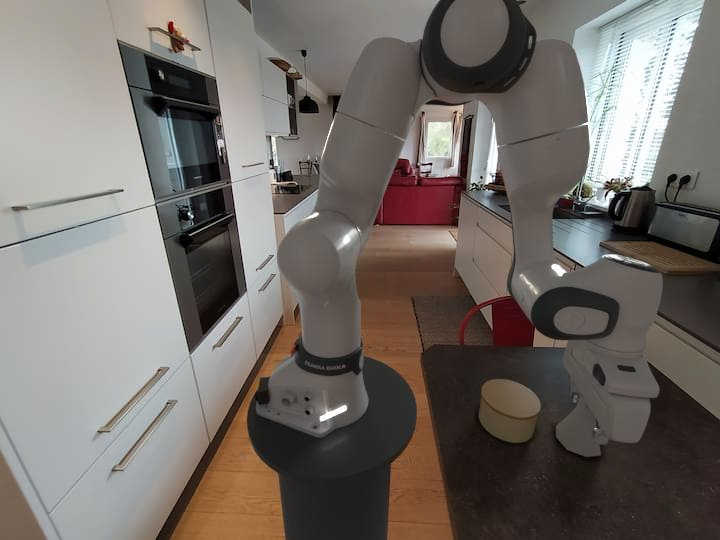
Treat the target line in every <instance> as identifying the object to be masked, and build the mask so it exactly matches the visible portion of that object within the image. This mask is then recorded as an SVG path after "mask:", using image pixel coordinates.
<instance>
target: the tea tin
mask: <svg viewBox="0 0 720 540" xmlns="http://www.w3.org/2000/svg"><path fill="white" fill-rule="evenodd" d="M480 396H481V397H480V403H479V408H478V420H479V422H480V424H481V426H482V427H483V429H485V430H486V431H487V432H488V433H489V434H490V435H492V436H493V437H495V438H496V439H499V440H501V441H504V442H506V443H507V442H508V443H514V444H519V443H525V442H528V441H530V439H532V437H533V436H534V433H535V430H536V426H537V425H536V424H537V420H538V416H539V414H540V413H541V409H542V404H541V401H540V399H539V397H538V396H537V395H536V393H535V392H533V390H531V389H530V388H529V387H527V386H525V385H523V384H521V383H519V382H516V381H514V380H510V379H505V378H495V379H494V378H493V379H490V380H487V381H486V382H484V383H483V384H482V386H481V389H480Z"/></svg>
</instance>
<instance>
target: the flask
mask: <svg viewBox="0 0 720 540" xmlns="http://www.w3.org/2000/svg"><path fill="white" fill-rule="evenodd" d="M579 395H580V400H579V402H578V403H576V406H575V407H574V409H573V410H571V411H570V412H569V414H568V415H567V416H565V417H564V418H563V419H562V420H561V421H560V422H558V423H557V424H556V425H555V437H556V439H557V440H558V441H559V443H560V444H561V445H562V446H563V447H564V448H565V449H566V450H567V451H568V452H572V453H575V454H577V455H580V456H582V457H586V458H590V457H599V456H602V452H601V444H597V443H596V442H595V441H594V439H593V437H592V433H593V432H592V431H593V428H596V429H598V427H597V426H598V424H597V420H596V418H595V416H594V415H593V413H592V411H591V410H590V408H589V407H588V405H587V403H586V402H585V400H584V398H583V397H582V395H581V393H580V392H579Z"/></svg>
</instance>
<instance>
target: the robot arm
mask: <svg viewBox="0 0 720 540" xmlns="http://www.w3.org/2000/svg"><path fill="white" fill-rule="evenodd" d="M537 33H538V32H537V30H536V28H535V27H534V25H533V24H532V22H531V21H530V20H529V19H528V18H527V17H526V15H525V14H524V13H523V10H522V8H521V6H520V4H519V2H518V0H438V2H437V3H436V5H435V6H434V7H433V9H432V10H431V13H430V15H429V16H428V18H427V21H426V23H425V26H424V30H423V34H422V38H419V39H417V40H415V41H405V40H402V39H399V38H396V37H390V36H388V37H387V36H384V37H378V38H375V39H373V40H371V41H370V42H368V43H367V44H366V45H365V46H364V48H363V49H362V51H361V53H360V54H359V57H358V58H357V61H356V62H355V64H354V67H353V68H352V71H351V72H350V75H349V77H348V79H347V81H346V84H345V86H344V89H343V90H342V91H343V92H342V94H341V96H340V99H339V102H338V104H337V108H336V112H335V114H334V117H333V120H332V123H331V126H330V130H329V132H328V136H327V139H326V142H325V145H324V148H323V151H322V153H321V158H320V161H319V168H318V169H319V182H318V189H317V194H316V195H317V196H316V200H315V205H314V207H313V209H312V211H311V213H310V214H309V215H308V216H307V217H305V218H303V219H301V220H299V221H297V222H295V224H293V225H292V226H291V227H290V229H289V230H288V231H287V233H286V234H285V235H284V237H283V238H282V240H281V242H280V243H279V245H278V248H277V252H276V264H277V268H278V271H279V273H280V275H281V276H282V278H283V279H284V280H285V282H287V284H288V285H289V286H290V287H292V288H293V290H294V294H295V296H296V300H297V302H298V308H299V314H300V327H301V331H300V332H299V333H298V338H297V339H296V340H295V341H294V342H293V346H292V348H291V349H290V351H289V354H288V355H287V356H285V357H284V358H283V359H282V360H280V362H278V364H277V365H276V366H275V367H274V369H273V371H272V372H271V374H270V375H269V376H264V377H263V376H262V377H260V378H259V382H258V388H257V389H258V390H257V389H256V390H255V392H254V394H253V396H254V398H255V400H256V401H257V402H256V413H257V414H258V415H260V416H262V417H265V418H268V419H270V420H273V421H275V422H278V423H281V424H283V425H286V426H288V427H291V428H294V429H296V430H299V431H301V432H304V433H307V434H309V435H312V436H314V437H317V438H322V437H325V436H326V435H328V434H329V433H331V432H332V431H333V430H335V429H337V428H340V427H344V426H347V425H349V424H351V423H353V422H355V421H356V420H358V419H359V418H360V417H361V416H362V415H363V414H364V413H365V411H366V409H367V407H368V401H369V400H368V395H367V392H366V389H365V385H364V381H363V374H362V368H363V361H364V356H365V354H364V353H365V349H364V340H363V338H362V302H361V300H360V298H359V293H358V289H357V280H356V268H357V267H356V266H357V263H358V258H359V257H360V255H361V254H362V253H363V251H364V249H365V247H366V245H367V242H368V239H369V237H370V234H371V231H372V229H373V226H374V224H375V221H376V218H377V215H378V213H379V210H380V207H381V205H382V202H383V199H384V196H385V193H386V191H387V187H388V185H389V183H390V181H391V178H392V176H393V173H394V170H395V168H396V166H397V163H398V161H399V159H400V156H401V153H402V151H403V148H404V146H405V144H406V141H407V139H408V136H409V134H410V131H411V129H412V126H413V125H414V122H415V119H416V118H417V116H418V114H419V112H420V110H421V109H422V108H423V106H442V107H459V106H463V105H467V104H469V103H471V102H473V101H476V100H477V101H479V102H480V103H482V104H483V105H484V106H485V107H486V108H487V110H488V112H489V114H490V115H491V119H492V122H493V123H494V129H495V130H494V131H495V141H496V146H497V147H496V150H497V156H498V162H499V168H500V171H501V177H502V180H503V184H504V187H505V192H506V195H507V199H508V204H509V208H510V210H509V211H510V221H511V233H512V246H513V257H512V262H511V266H510V267H509V268H510V269H509V271H508V273H507V274H508V275H507V279H506V288H507V292H508V294H509V295H510V297H511V298H512V300H513V301H514V302H515V303H516V304H517V305H518V306H519V307H520V309H521V310H522V312H523V313H524V315H525V316H526V318H527V319H528V320H529V322H530V323H531V325H532V326H533V327H534V328H535V330H536V331H537V332H539V334H541V335H542V336H544V337H546V338H548V339H551V340H556V341H567V343H566V345H565V349H564V352H563V355H562V365H563V367H564V368H565V370H566V372H567V373H568V375H569V377H570V378H569V380H570V381H569V382H570V395H569V397H570V399H571V401H572V403H573V404H578V402H579V400H580V395H579V392H580V393H581V395H582V397H583V398H584V400H585V402H586V403H587V405H588V407H589V408H590V410H591V411H592V413H593V415H594V416H595V418H596V422H597V423H598V424H597V426H598V428H597V429H596V428H593V431H592V432H593V433H592V437H593V439H594V441H595V442H596V443H597V444H600V445H602V446H603V445H604V446H606V445H608V444H609V440H610V441H612V442H618V443H624V444H637V443H639V442H640V440H641V439H642V437H643V436H644V432H645V430H646V427H647V425H648V422H649V419H650V415H651V412H652V411H651V409H652V407H651V406H652V405H651V401H650V399H657V398H658V397H659V394H660V386H659V383H658V382H657V380H656V378H655V376H654V374H653V373H652V371H651V367H650V366H649V363H648V359H647V357H646V355H645V354H644V353H645V351H646V347H647V335H648V334H647V333H648V331H649V330H650V328H651V327H652V326H653V324H654V323H655V320H656V318H657V314H658V311H659V308H660V304H661V300H662V296H663V289H664V278H663V275H662V272H660V270H659V269H658V268H657V267H655V266H653V265H651V264H649V263H647V262H644V261H642V260H639V259H636V258H633V257H631V256H626V255H620V254H614V253H613V254H612V253H611V254H603V255H601V256H600V258H598V259H597V260H596V261H594V262H592V263H590V264H588V265H586V266H583V267H581V268H579V269H576V270H572V271H566V270H565V268H564V267H563V266H562V265H561V264H560V262H559V260H558V259H557V257H556V255H555V251H554V228H553V226H554V225H553V222H554V221H553V213H554V209H555V206H556V204H557V203H558V201H559V200H560V198H562V197H564V196H565V195H567V194H568V193H569V192H571V191H572V190H573V189H574V188H575V187H576V186H577V185H578V184H580V183H581V181H582V179H583V178H584V177H585V175H586V174H587V169H588V166H589V160H590V155H591V154H590V152H591V129H590V128H591V127H590V114H589V105H588V97H587V91H586V86H585V81H584V76H583V73H582V68H581V64H580V62H579V58H578V56H577V53H576V51H575V49H574V47H573V46H572V45H571V44H570V43H569V42H567V41H565V40H561V39H553V38H552V39H550V38H549V39H542V40H540V39H539V40H537V37H538V34H537ZM530 37H531V42H530ZM269 377H270V378H269ZM314 428H316V429H314Z"/></svg>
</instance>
